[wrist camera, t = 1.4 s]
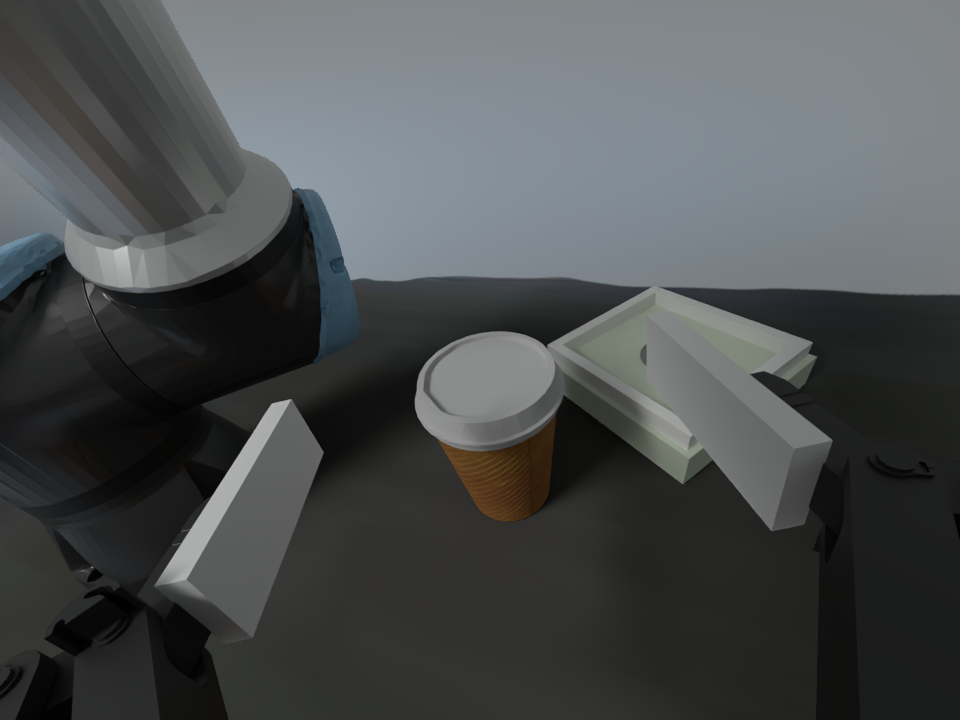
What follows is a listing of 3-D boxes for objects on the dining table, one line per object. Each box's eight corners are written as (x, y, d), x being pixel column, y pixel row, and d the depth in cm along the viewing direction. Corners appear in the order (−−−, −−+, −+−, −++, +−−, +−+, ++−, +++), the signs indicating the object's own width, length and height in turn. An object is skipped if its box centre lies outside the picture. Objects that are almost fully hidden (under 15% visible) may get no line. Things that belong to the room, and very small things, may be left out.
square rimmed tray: (543, 379, 40) (540, 344, 37) (650, 317, 45) (653, 282, 42) (683, 484, 28) (692, 445, 25) (805, 384, 33) (823, 342, 31)
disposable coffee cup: (452, 447, 35) (415, 341, 28) (556, 431, 34) (546, 317, 27) (451, 552, 27) (400, 443, 20) (585, 533, 27) (582, 413, 19)
